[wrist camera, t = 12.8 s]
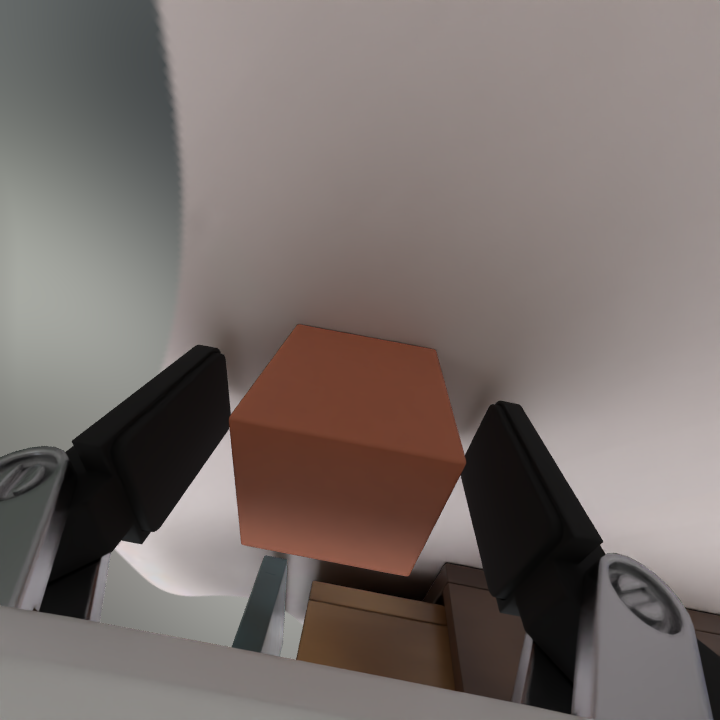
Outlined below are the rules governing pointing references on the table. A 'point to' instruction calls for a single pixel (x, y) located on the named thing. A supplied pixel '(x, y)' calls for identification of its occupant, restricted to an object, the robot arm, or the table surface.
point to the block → (345, 450)
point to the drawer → (351, 629)
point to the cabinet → (500, 633)
